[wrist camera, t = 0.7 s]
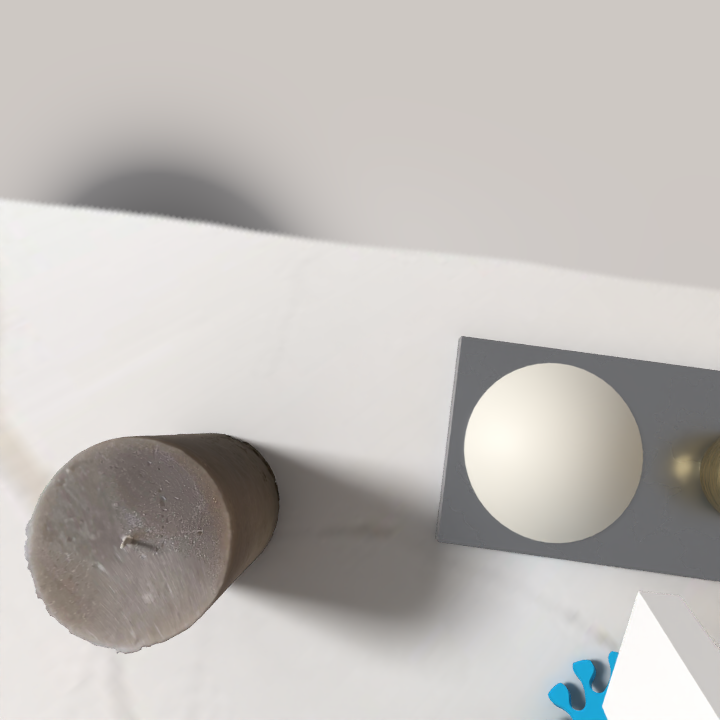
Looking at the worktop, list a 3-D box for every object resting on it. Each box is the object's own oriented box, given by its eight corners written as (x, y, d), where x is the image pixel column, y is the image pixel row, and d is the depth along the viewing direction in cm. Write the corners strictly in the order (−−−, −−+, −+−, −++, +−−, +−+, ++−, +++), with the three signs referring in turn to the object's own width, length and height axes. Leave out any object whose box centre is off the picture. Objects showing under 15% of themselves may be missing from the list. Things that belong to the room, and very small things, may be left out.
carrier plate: (823, 388, 41) (924, 378, 34) (815, 591, 39) (920, 628, 32) (459, 338, 41) (480, 318, 34) (435, 538, 40) (452, 562, 32)
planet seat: (677, 466, 39) (679, 466, 39) (542, 580, 38) (543, 581, 38) (561, 329, 40) (563, 328, 40) (428, 436, 39) (428, 436, 39)
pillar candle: (269, 423, 41) (211, 417, 26) (289, 565, 39) (240, 645, 25) (132, 445, 41) (-4, 452, 26) (148, 588, 39) (14, 682, 24)
